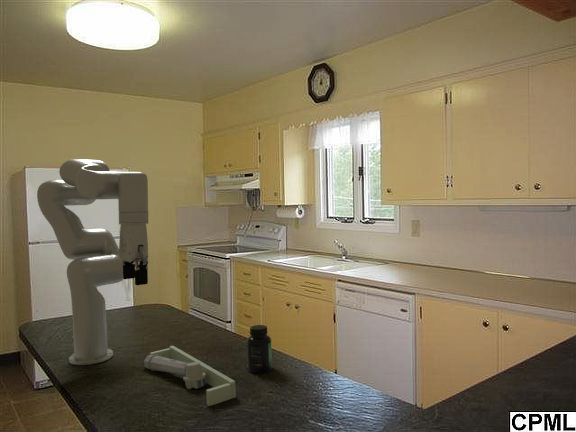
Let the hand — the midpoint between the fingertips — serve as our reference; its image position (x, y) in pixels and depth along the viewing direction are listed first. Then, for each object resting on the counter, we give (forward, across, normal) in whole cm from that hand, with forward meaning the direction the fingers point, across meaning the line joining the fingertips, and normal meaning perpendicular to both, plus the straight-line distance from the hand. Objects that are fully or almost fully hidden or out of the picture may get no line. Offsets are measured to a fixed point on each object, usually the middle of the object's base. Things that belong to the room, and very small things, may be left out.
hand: (135, 281), depth 124 cm
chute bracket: (+26, +10, +10) cm, 30 cm away
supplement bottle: (+26, +17, +29) cm, 42 cm away
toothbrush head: (+27, +6, +8) cm, 29 cm away
